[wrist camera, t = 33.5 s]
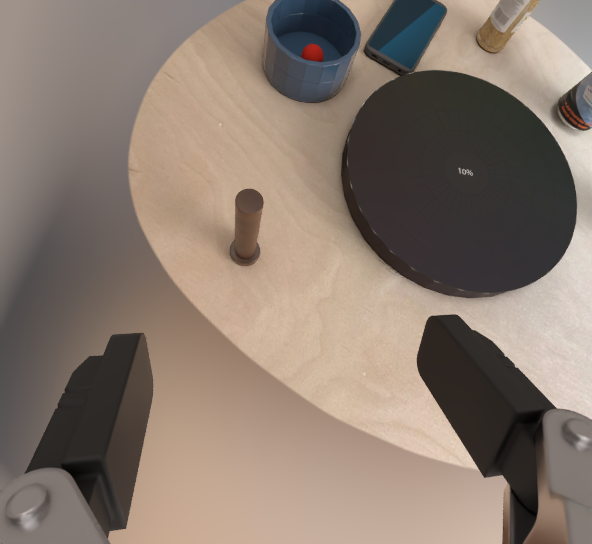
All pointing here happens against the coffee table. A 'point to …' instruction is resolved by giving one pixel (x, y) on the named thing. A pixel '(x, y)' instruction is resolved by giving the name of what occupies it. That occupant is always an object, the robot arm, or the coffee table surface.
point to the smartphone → (405, 33)
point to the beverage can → (577, 105)
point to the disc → (458, 184)
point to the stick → (247, 227)
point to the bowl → (301, 32)
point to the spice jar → (504, 23)
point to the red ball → (312, 53)
